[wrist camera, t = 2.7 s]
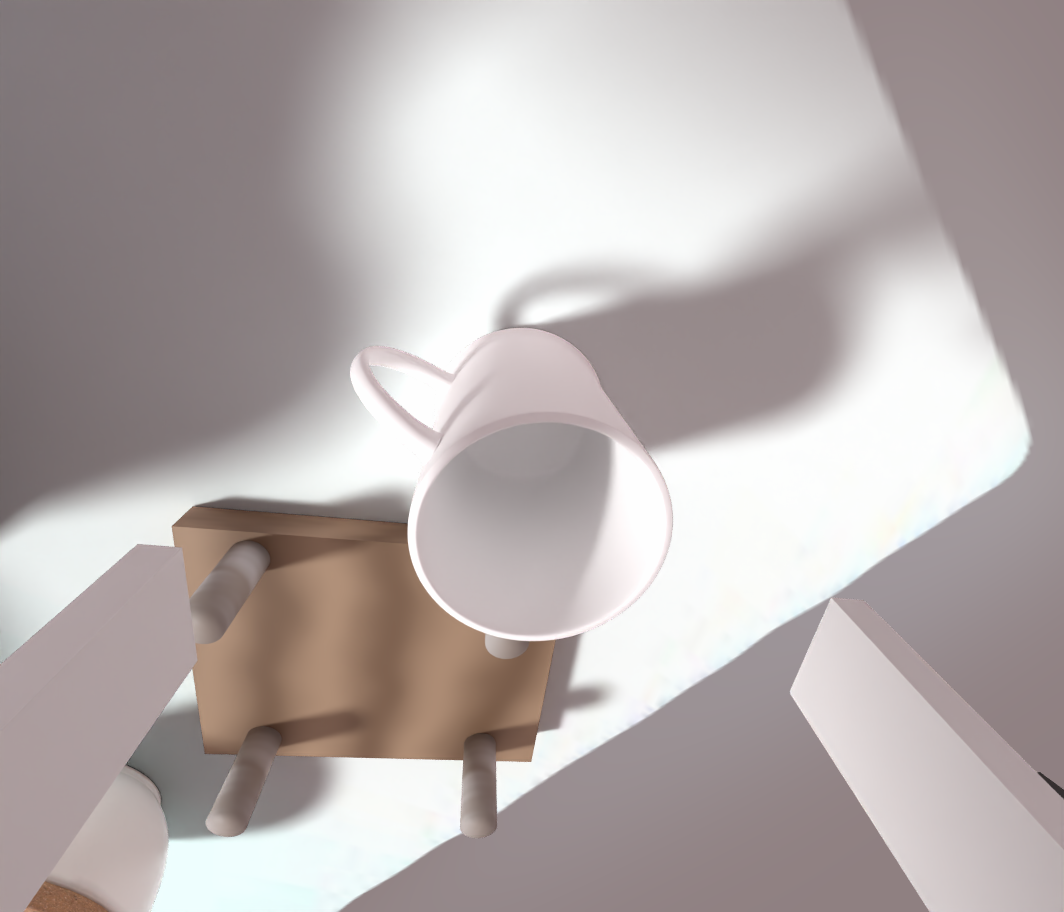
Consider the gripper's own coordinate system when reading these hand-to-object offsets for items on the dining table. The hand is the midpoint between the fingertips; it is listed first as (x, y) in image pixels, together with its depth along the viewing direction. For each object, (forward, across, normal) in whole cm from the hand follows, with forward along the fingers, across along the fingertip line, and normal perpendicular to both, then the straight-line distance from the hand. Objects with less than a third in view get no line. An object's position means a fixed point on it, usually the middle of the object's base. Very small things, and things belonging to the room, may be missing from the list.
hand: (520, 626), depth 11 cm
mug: (+17, 0, 0) cm, 17 cm away
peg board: (+17, -6, -16) cm, 24 cm away
